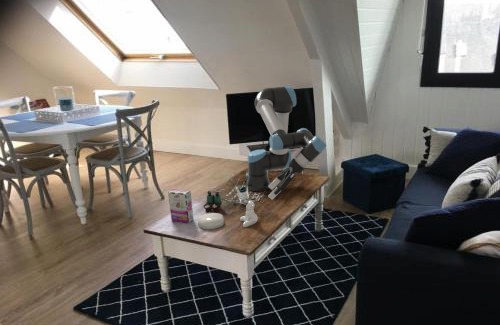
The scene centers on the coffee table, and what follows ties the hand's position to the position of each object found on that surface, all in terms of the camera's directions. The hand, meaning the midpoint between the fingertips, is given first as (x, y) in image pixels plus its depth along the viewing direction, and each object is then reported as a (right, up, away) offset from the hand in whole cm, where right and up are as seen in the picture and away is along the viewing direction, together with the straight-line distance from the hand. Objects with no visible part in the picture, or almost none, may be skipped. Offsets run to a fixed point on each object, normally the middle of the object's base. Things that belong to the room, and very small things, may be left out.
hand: (270, 192), depth 201 cm
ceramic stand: (-30, -16, +7) cm, 35 cm away
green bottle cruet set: (-30, -12, +22) cm, 39 cm away
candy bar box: (-46, -16, +12) cm, 50 cm away
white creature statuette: (-10, -16, +5) cm, 20 cm away
